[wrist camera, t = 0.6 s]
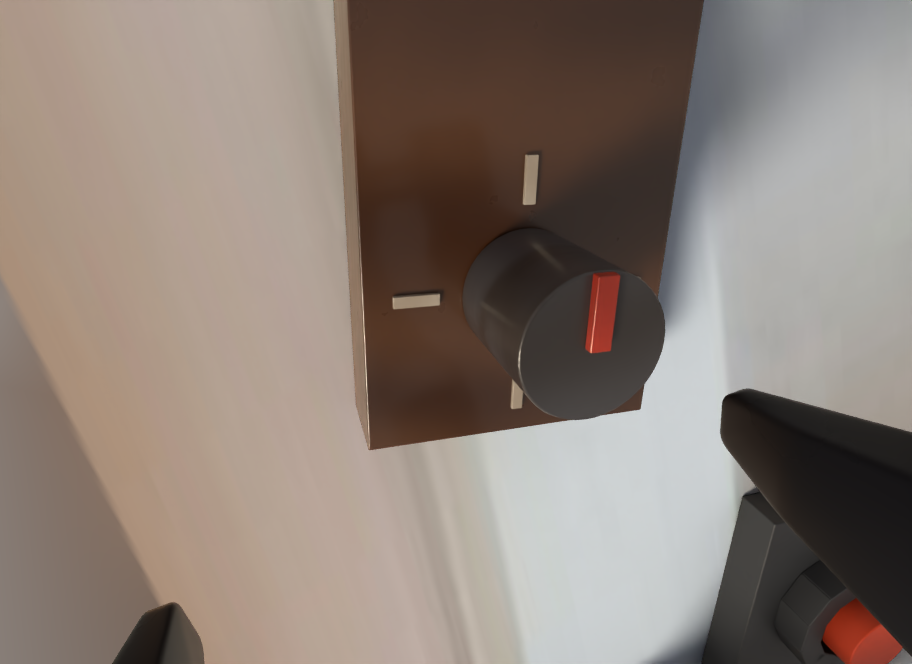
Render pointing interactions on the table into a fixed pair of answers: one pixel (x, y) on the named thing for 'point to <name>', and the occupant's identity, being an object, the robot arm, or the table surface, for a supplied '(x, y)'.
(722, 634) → the button box
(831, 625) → the button
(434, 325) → the knob panel
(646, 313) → the knob
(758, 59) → the table surface
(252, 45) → the table surface
